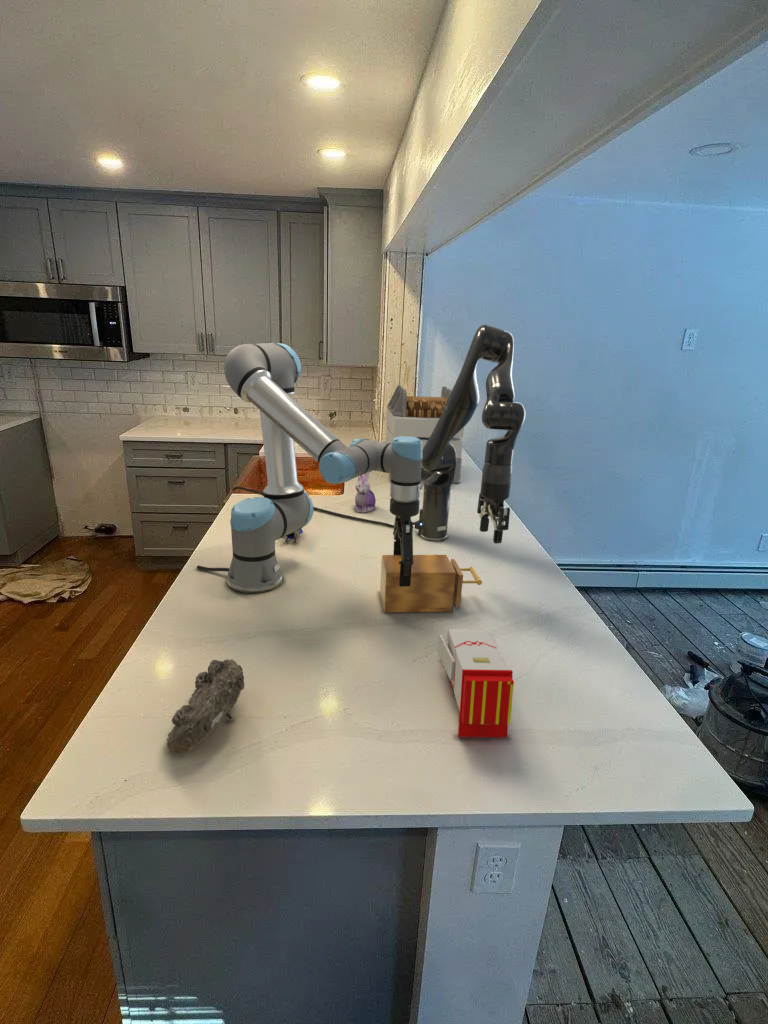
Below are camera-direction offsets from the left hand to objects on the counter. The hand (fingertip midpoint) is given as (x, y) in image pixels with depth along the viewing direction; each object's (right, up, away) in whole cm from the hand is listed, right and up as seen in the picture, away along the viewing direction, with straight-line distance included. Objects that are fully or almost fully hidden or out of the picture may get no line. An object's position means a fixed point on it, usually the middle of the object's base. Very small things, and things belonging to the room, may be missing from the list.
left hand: (401, 574), depth 151 cm
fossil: (-37, -23, -43) cm, 61 cm away
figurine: (-12, +18, +72) cm, 75 cm away
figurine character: (-36, +8, +42) cm, 56 cm away
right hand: (+24, +10, +2) cm, 26 cm away
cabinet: (+4, -8, +3) cm, 9 cm away
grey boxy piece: (+13, +35, +124) cm, 130 cm away
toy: (+13, -21, -32) cm, 41 cm away
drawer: (+10, -7, +4) cm, 12 cm away
